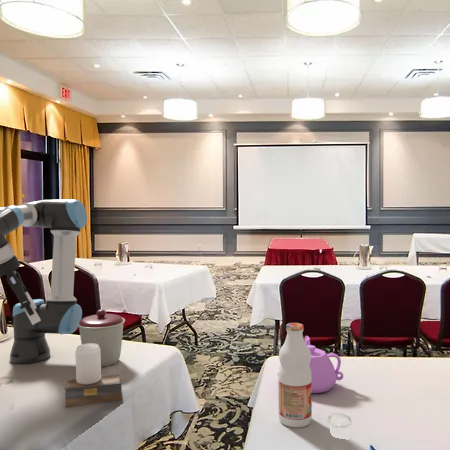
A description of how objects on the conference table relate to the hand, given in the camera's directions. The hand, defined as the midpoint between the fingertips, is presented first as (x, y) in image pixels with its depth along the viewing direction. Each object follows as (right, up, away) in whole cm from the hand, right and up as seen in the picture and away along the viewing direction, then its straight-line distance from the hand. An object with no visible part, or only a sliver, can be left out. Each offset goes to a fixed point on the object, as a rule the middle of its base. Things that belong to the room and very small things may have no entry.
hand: (34, 315), depth 154 cm
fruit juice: (+83, -27, -19) cm, 89 cm away
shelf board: (+19, -26, +1) cm, 32 cm away
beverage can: (+16, -23, +5) cm, 29 cm away
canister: (+15, -24, +30) cm, 41 cm away
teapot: (+92, -25, +7) cm, 95 cm away
